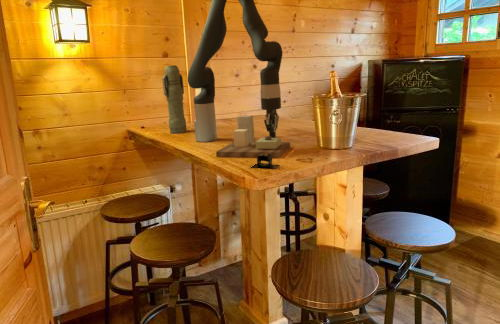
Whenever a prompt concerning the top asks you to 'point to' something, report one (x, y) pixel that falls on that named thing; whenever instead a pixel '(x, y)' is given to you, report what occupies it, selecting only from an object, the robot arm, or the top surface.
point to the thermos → (174, 99)
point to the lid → (268, 143)
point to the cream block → (241, 138)
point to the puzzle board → (251, 151)
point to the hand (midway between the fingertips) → (272, 141)
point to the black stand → (264, 165)
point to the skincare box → (247, 125)
